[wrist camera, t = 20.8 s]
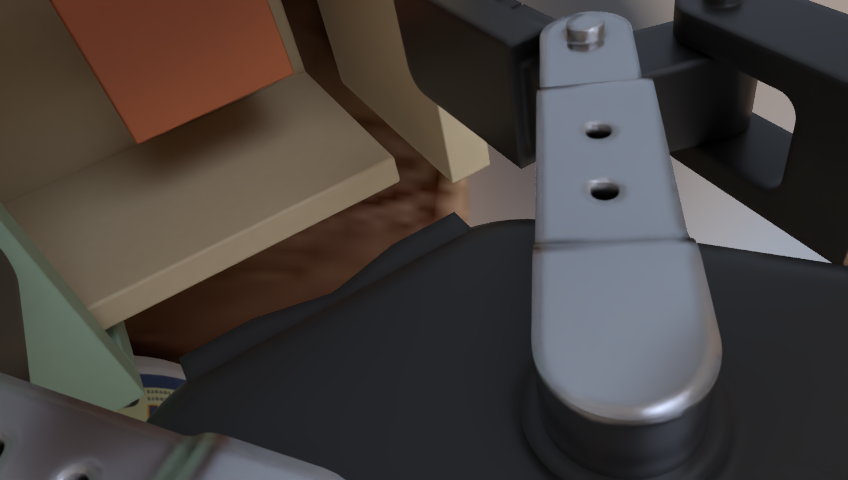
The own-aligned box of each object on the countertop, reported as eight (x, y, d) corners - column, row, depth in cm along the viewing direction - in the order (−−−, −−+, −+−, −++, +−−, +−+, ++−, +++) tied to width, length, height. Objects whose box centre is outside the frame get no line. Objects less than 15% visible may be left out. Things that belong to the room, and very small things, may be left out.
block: (245, 23, 19) (295, 74, 16) (108, 81, 18) (137, 146, 15) (183, -130, 16) (231, -101, 13) (17, -72, 15) (32, -28, 12)
